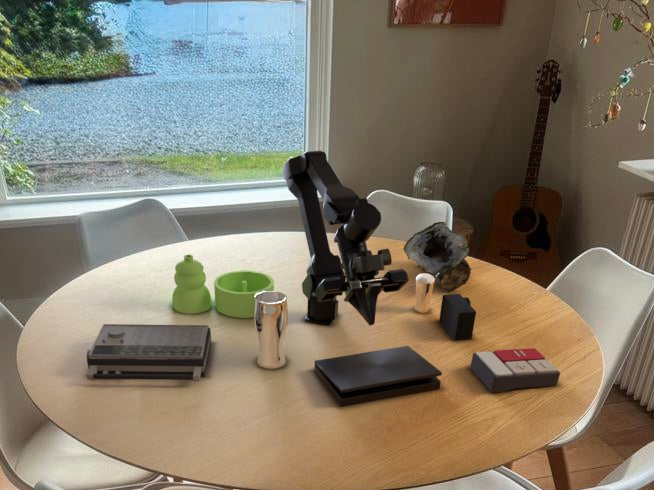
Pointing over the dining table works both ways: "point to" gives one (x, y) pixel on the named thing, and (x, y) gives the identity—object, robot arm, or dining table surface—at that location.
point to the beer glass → (270, 327)
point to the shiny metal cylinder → (423, 292)
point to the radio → (150, 352)
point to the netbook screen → (376, 368)
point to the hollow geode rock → (440, 255)
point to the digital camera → (457, 316)
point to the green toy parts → (217, 290)
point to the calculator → (514, 369)
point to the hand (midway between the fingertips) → (372, 324)
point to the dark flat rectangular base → (378, 390)
